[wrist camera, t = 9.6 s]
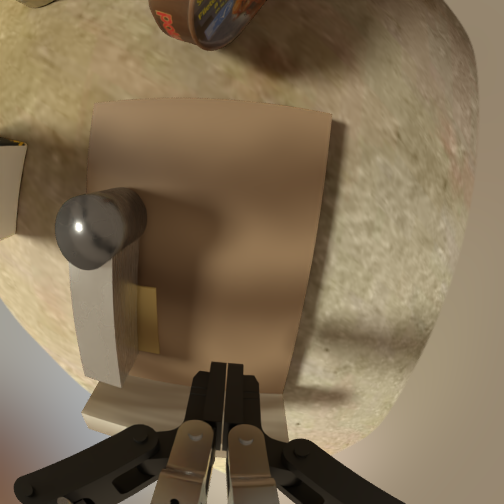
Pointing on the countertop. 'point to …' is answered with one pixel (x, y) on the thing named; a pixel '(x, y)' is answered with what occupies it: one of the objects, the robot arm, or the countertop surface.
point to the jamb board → (211, 245)
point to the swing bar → (104, 277)
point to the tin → (204, 20)
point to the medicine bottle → (10, 183)
